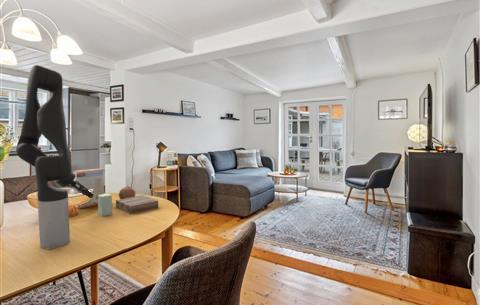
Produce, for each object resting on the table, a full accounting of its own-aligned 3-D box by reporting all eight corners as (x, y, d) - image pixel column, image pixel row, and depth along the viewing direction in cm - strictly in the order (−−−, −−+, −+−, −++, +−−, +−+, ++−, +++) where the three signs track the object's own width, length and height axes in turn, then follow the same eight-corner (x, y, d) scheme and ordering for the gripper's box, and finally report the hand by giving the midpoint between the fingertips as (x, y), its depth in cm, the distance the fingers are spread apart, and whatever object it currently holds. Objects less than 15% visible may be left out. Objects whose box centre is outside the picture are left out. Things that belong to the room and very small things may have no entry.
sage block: (112, 214, 136) (111, 194, 135) (102, 216, 132) (101, 196, 131) (108, 212, 139) (107, 193, 138) (98, 214, 135) (97, 195, 135)
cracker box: (100, 202, 158) (99, 168, 157) (104, 204, 154) (103, 169, 153) (74, 207, 148) (73, 170, 146) (78, 209, 144) (76, 171, 142)
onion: (126, 204, 164) (127, 189, 168) (138, 201, 161) (139, 186, 165) (114, 202, 156) (115, 186, 160) (126, 199, 153) (127, 183, 157)
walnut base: (158, 207, 148) (158, 200, 147) (130, 213, 136) (130, 206, 136) (142, 201, 160) (142, 195, 160) (116, 207, 148) (115, 200, 148)
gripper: (71, 170, 117) (100, 191, 127) (63, 167, 127) (89, 187, 136) (58, 183, 114) (88, 204, 123) (50, 179, 123) (78, 198, 133)
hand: (89, 195), depth 130 cm, fingers open, 8 cm apart
